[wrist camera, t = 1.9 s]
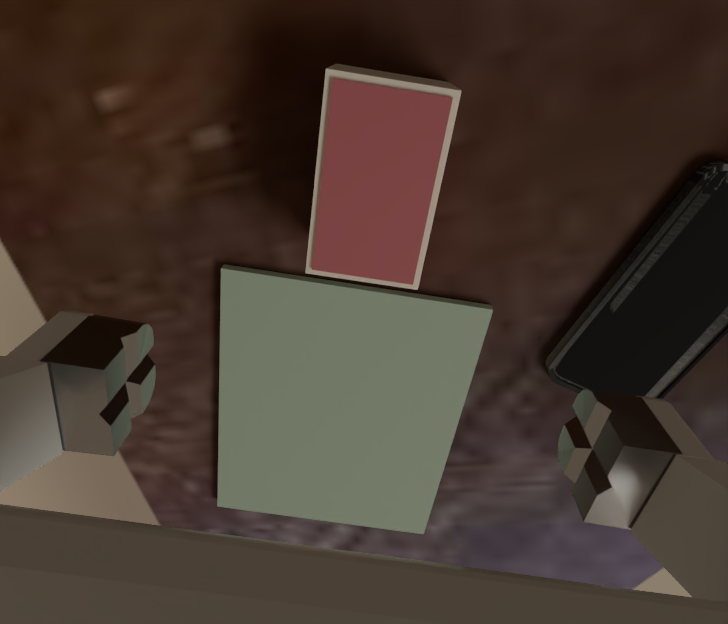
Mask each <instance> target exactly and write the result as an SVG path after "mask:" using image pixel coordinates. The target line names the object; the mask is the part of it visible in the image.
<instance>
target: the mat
mask: <svg viewBox="0 0 728 624" xmlns="http://www.w3.org/2000/svg"><path fill="white" fill-rule="evenodd" d="M492 312H493V308H492V305H488V304H481V303H475V302H468V301H462V300H455V299H448V298H442V297H435V296H429V295H422V294H416V293H409V292H403V291H396V290H390V289H383V288H376V287H370V286H363V285H357V284H350V283H344V282H337V281H331V280H324V279H317V278H311V277H304V276H298V275H291V274H285V273H278V272H272V271H265V270H258V269H252V268H245V267H239V266H232V265H226V264H224V265H223V266H222V267H221V297H220V366H219V434H218V502H217V506H219V507H226V508H233V509H241V510H248V511H256V512H263V513H270V514H278V515H285V516H293V517H300V518H307V519H315V520H322V521H330V522H337V523H344V524H352V525H359V526H367V527H374V528H381V529H389V530H396V531H404V532H411V533H418V534H424V531H425V528H426V525H427V522H428V518H429V515H430V512H431V509H432V506H433V502H434V499H435V496H436V493H437V489H438V486H439V483H440V480H441V477H442V473H443V470H444V467H445V464H446V460H447V457H448V454H449V451H450V448H451V444H452V441H453V438H454V435H455V431H456V428H457V425H458V422H459V419H460V415H461V412H462V409H463V406H464V402H465V399H466V396H467V393H468V390H469V386H470V383H471V380H472V377H473V373H474V370H475V367H476V364H477V361H478V357H479V354H480V351H481V348H482V344H483V341H484V338H485V335H486V332H487V328H488V325H489V322H490V319H491V315H492Z"/></svg>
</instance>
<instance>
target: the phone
mask: <svg viewBox="0 0 728 624" xmlns="http://www.w3.org/2000/svg"><path fill="white" fill-rule="evenodd" d="M727 332H728V162H725V161H713V162H709V163H707V164H705V165H703V166H702V167H700V168H699V169H698V170H697V171H696V172H695V173H694V174H693V176H692V177H691V178H690V179H689V181H688V182H687V183H686V184H685V186H684V187H683V188H682V189H681V191H680V192H679V193H678V194H677V196H676V197H675V198H674V199H673V201H672V202H671V203H670V204H669V206H668V207H667V208H666V209H665V211H664V212H663V213H662V214H661V216H660V217H659V218H658V219H657V221H656V222H655V223H654V224H653V226H652V227H651V228H650V229H649V230H648V232H647V233H646V234H645V235H644V237H643V238H642V239H641V241H640V242H639V243H638V244H637V246H636V247H635V248H634V249H633V251H632V252H631V253H630V254H629V256H628V257H627V258H626V259H625V261H624V262H623V263H622V264H621V266H620V267H619V268H618V269H617V271H616V272H615V273H614V274H613V276H612V277H611V278H610V279H609V281H608V282H607V283H606V284H605V286H604V287H603V288H602V289H601V291H600V292H599V293H598V294H597V296H596V297H595V298H594V299H593V301H592V302H591V303H590V304H589V306H588V307H587V308H586V309H585V311H584V312H583V313H582V314H581V316H580V317H579V318H578V319H577V321H576V322H575V323H574V324H573V326H572V327H571V328H570V329H569V331H568V332H567V333H566V334H565V336H564V337H563V338H562V339H561V341H560V342H559V343H558V344H557V346H556V347H555V348H554V349H553V351H552V352H551V353H550V354H549V356H548V357H547V359H546V362H545V368H546V371H547V373H548V375H549V377H550V378H551V380H552V381H553V382H555V383H557V384H559V385H561V386H563V387H566V388H568V389H570V390H572V391H574V392H577V393H579V394H580V392H581V391H582V390H591V391H599V392H607V393H614V394H622V395H630V396H641V397H650V398H659V399H662V398H663V397H664V396H665V395H666V394H667V393H668V392H669V391H670V390H671V389H672V388H673V387H674V386H675V385H676V384H677V383H678V382H679V381H680V380H681V379H682V378H683V377H684V376H685V375H686V374H687V373H688V372H689V371H690V370H691V369H692V368H693V367H694V366H695V365H696V364H697V363H698V362H699V361H700V360H701V359H702V358H703V357H704V356H705V355H706V354H707V353H708V352H709V351H710V350H711V349H712V348H713V347H714V346H715V345H716V344H717V343H718V342H719V340H720V339H721V338H722V337H723V336H724V335H725V334H726V333H727Z"/></svg>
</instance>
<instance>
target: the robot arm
mask: <svg viewBox="0 0 728 624" xmlns="http://www.w3.org/2000/svg"><path fill="white" fill-rule="evenodd" d="M153 345H154V340H153V329H152V328H151V327H150V325H149V324H147V323H141V322H135V321H129V320H123V319H118V318H112V317H106V316H100V315H93V314H89V313H81V312H74V311H60V312H59V313H58V314H57V315H55V316H54V317H53V318H52V319H51V320H49V321H48V322H47V323H46V324H44V325H43V326H42V327H41V328H40V329H38V330H37V331H36V332H35V333H33V334H32V335H31V336H30V337H29V338H28V339H26V340H25V341H24V342H23V343H21V344H20V345H19V346H18V347H16V348H15V349H14V350H13V351H12V352H10V353H9V354H8V355H7V356H0V491H2V490H4V489H5V488H7V487H9V486H10V485H12V484H13V483H15V482H17V481H18V480H20V479H22V478H23V477H25V476H26V475H28V474H30V473H31V472H33V471H35V470H36V469H38V468H40V467H41V466H43V465H44V464H46V463H48V462H49V461H51V460H52V459H54V458H56V457H57V456H59V455H61V454H62V453H63V450H64V451H72V452H82V453H90V454H99V455H108V456H114V455H115V454H116V452H117V451H118V449H119V448H120V446H121V445H122V443H123V442H124V440H125V439H126V437H127V436H128V434H129V433H130V431H131V430H132V429H131V418H133V417H135V416H137V415H139V414H141V413H143V411H144V410H145V408H146V407H147V405H148V403H149V401H150V398H151V395H152V392H153V390H154V384H155V376H156V374H155V364H154V362H153V361H152V360H151V359H150V357H149V356H148V355H147V353H148V352H149V350H150V349H151V348H152V346H153ZM573 409H574V412H575V414H576V417H575V418H573V419H572V420H570V421H569V422H567V423H566V424H564V427H563V429H562V432H561V434H560V437H559V445H558V456H559V463H560V465H561V468H562V470H563V473H564V474H565V475H566V476H567V477H569V478H570V479H571V480H572V481H573V482H574V483H575V485H574V487H573V489H572V491H571V493H572V495H573V497H574V500H575V502H576V505H577V507H578V509H579V512H580V514H581V517H582V519H583V521H584V522H588V523H594V524H600V525H606V526H612V527H618V528H624V529H630V532H631V533H632V535H633V536H634V537H635V538H636V539H637V540H638V541H639V542H640V543H641V544H642V545H643V546H644V547H645V548H646V549H647V550H648V551H649V552H650V553H651V554H652V555H653V556H654V557H655V558H656V559H657V561H658V562H659V563H660V564H661V565H662V566H663V567H664V568H665V569H666V570H667V571H668V572H669V573H670V574H671V575H672V576H673V577H674V578H675V579H676V580H677V581H678V582H679V583H680V584H681V585H682V587H684V589H685V590H686V591H687V592H688V593H689V594H690V595H691V596H692V597H693V598H692V597H684V596H676V595H669V594H661V593H654V592H646V591H639V590H631V589H624V588H617V587H609V586H602V585H595V584H587V583H580V582H573V581H566V580H558V579H551V578H544V577H536V576H529V575H522V574H514V573H507V572H500V571H493V570H485V569H478V568H471V567H463V566H456V565H449V564H441V563H434V562H426V561H419V560H411V559H404V558H396V557H389V556H382V555H374V554H367V553H359V552H352V551H344V550H337V549H329V548H322V547H314V546H307V545H299V544H292V543H284V542H277V541H269V540H262V539H255V538H247V537H240V536H232V535H225V534H217V533H210V532H202V531H195V530H188V529H180V528H173V527H165V526H158V525H150V524H143V523H135V522H128V521H120V520H113V519H106V518H98V517H91V516H83V515H76V514H69V513H62V512H54V511H47V510H39V509H32V508H24V507H16V506H10V505H2V504H0V624H728V464H727V463H725V462H724V461H719V460H714V459H713V457H712V456H711V455H710V453H709V452H708V451H707V450H706V448H705V447H704V446H703V445H702V443H701V442H700V441H699V440H698V438H697V437H696V436H695V435H694V433H693V432H692V431H691V429H690V428H689V427H688V426H687V424H686V423H685V422H684V421H683V419H682V418H681V417H680V416H679V414H678V413H677V412H676V410H675V409H674V408H673V407H672V405H671V404H670V403H669V402H667V401H665V400H663V399H659V398H650V397H641V396H630V395H622V394H614V393H607V392H599V391H591V390H582V391H581V392H580V394H579V395H578V396H577V398H576V400H575V402H574V404H573Z"/></svg>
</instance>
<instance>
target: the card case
mask: <svg viewBox="0 0 728 624" xmlns="http://www.w3.org/2000/svg"><path fill="white" fill-rule="evenodd" d="M460 96H461V90H460V89H458V88H457V87H455V86H454V85H452V84H451V83H449V82H445V81H439V80H433V79H427V78H421V77H415V76H409V75H403V74H397V73H391V72H384V71H378V70H372V69H366V68H360V67H354V66H348V65H342V64H334V65H332V66H330V67H328V68H326V72H325V82H324V92H323V102H322V112H321V122H320V132H319V142H318V152H317V162H316V172H315V182H314V192H313V202H312V212H311V222H310V232H309V242H308V253H307V263H306V273H308V274H314V275H321V276H328V277H334V278H341V279H348V280H354V281H361V282H368V283H374V284H381V285H388V286H394V287H401V288H408V289H414V290H418V286H419V282H420V277H421V273H422V268H423V264H424V259H425V255H426V250H427V245H428V241H429V236H430V232H431V227H432V223H433V218H434V214H435V209H436V205H437V200H438V196H439V191H440V186H441V182H442V177H443V173H444V168H445V164H446V159H447V155H448V150H449V146H450V141H451V137H452V132H453V127H454V123H455V118H456V114H457V109H458V105H459V100H460Z"/></svg>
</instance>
